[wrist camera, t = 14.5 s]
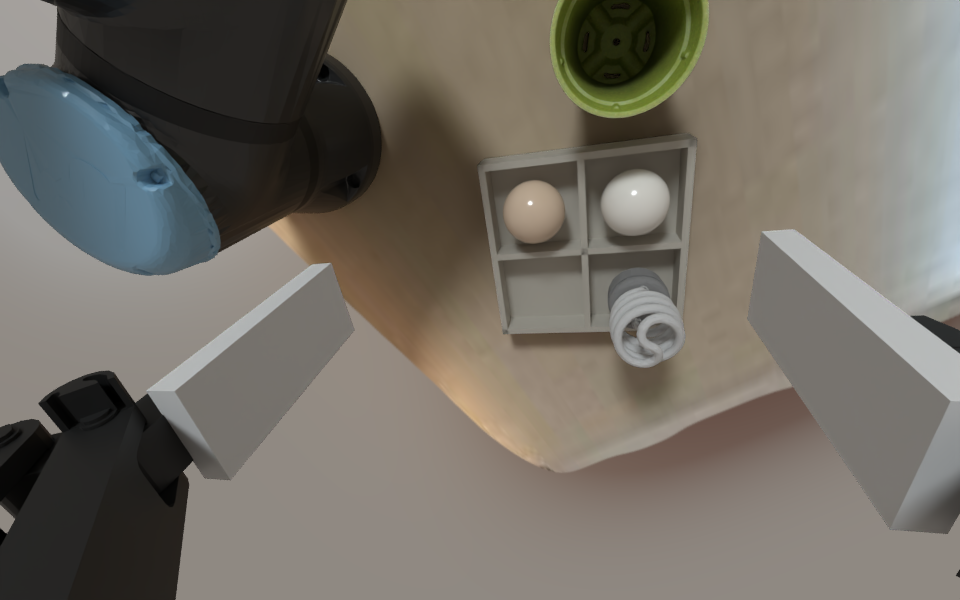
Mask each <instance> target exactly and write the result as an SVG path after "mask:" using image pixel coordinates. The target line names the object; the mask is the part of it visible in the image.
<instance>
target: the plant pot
mask: <svg viewBox="0 0 960 600" xmlns="http://www.w3.org/2000/svg"><path fill="white" fill-rule="evenodd" d="M621 3H627V4H629V5H630V8H629V9H621V8H620V9H612V8H611V7H612V5H614V4H621ZM708 23H709V4H708V0H558V3H557V5H556V8H555V11H554V15H553V18H552V23H551V30H550V55H551V61H552V66H553V69H554V73H555V75H556V78H557V80H558V82H559V84H560V86H561V88H562V89H563V91H564V92H565V94H566V95H567V96H568V97H569V98H570V100H571V101H572V102H574V103H575V104H576V105H577V106H578V107H580V108H581V109H583V110H585V111H587V112H588V113H591V114H593V115H596V116H601V117H606V118H625V117H631V116H635V115H638V114H641V113H643V112H646V111H648V110H650V109H652V108H654V107H656V106H657V105H659V104H661V103H662V102H663V101H665V100H666V99H667V98H668V97H670V96H671V95H672V94H673V93H674V92H675V91H676V90H677V89H678V88H679V87H680V86H681V85H682V84H683V83H684V82H685V80H686V79H687V78H688V76H689V75H690V73H691V72H692V70H693V68H694V67H695V65H696V63H697V61H698V59H699V57H700V54H701V52H702V49H703V47H704V43H705V40H706V36H707V30H708ZM647 31H648V33H649V34H650V43H649V47H648V49H647V51H646V52H643V48H644V44H645V39H646V32H647ZM587 32H589V38H588V43H587V48H588V49H587V52H584V50H583V41H584V36H585V34H586V33H587ZM614 39H619V40H620V43H619V44H618V45H614V44H613V41H614ZM604 73H608V74H617V73H620V74H621V75H620V76H619V77H618V78H605V77H604Z"/></svg>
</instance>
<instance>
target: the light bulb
mask: <svg viewBox="0 0 960 600" xmlns="http://www.w3.org/2000/svg"><path fill="white" fill-rule="evenodd" d="M608 308H609V311H610V319H609V327H610V334H611V339H612V342H613V344H614V348H615V350H616V352H617V354H618V355H619V356H620V357H621V359H623V360H624V361H625V362H626V363H628V364H630V365H632V366H635V367H639V368H648V367H652V366H654V365H657V364H659V362H662V361H665V360H667V359H670V358H672V357H673V356H675V355H676V354H677V353H678V352H679V351H680V350H681V348H682V347H683V345H684V343H685V330H684V324H683V321H682V319H681V316H680V313H679V311H678V309H677V307H676V306H675V305H674V304H673V302H672V300H671V299H670V295H669V292H668V289H667V287H666V285H665V284H664V283H663V281H662V280H661V278H660V277H659V276H658V275H657V274H656V273H655V272H653V271H651V270H648V269H645V268H631V269H628V270H625V271H622V272H621V273H620V274H618V275H617V276H616V277H615V278H614V279H613V280H612V282H611V284H610V286H609V289H608ZM658 323H661V324H660V325H659V326H657V327H655V328H652V329H649V328H650V327H652V326H654V325H656V324H658ZM626 327H627V328H631V329H636V330H637V334H636V335H637V338H636V337H633V336H631V335H629V334H628V333H626V332H625V331H624V329H625V328H626ZM657 336H658V337H657ZM646 337H648V338H649V339H647V338H646ZM650 337H655V338H650Z"/></svg>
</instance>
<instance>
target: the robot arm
mask: <svg viewBox="0 0 960 600" xmlns="http://www.w3.org/2000/svg"><path fill="white" fill-rule="evenodd" d="M42 1H45V2H47V3H50V4H53V5H55V6H57V33H56V54H55V62H54V64H53V65H52V66H51V67H48V66H47V65H44V64H23V65H21V66H19V67H17V69H16V70H11V71H9V72H7V73H6V75H3V76H0V162H1V164H2V166H3V168H4V170H5V171H6V173H7V174H8V176H9V178H10V179H11V181H12V182H13V183H14V185H15V186H16V188H17V189H18V190H19V191H20V193H21V194H22V195H23V196H24V197H25V198H26V199H27V201H28V202H29V203H30V204H31V206H32V207H33V208H34V209H35V210H36V211H37V213H38V214H40V216H41V217H42V218H43V219H44V220H45V221H46V222H47V223H48V224H49V225H50V226H52V227H53V228H54V229H55V230H56V231H57V232H58V233H59V234H61V235H62V236H63V237H64V238H66V239H67V240H68V241H69V242H71V243H72V244H73V245H75V246H76V247H78V248H79V249H81V250H82V251H84V252H85V253H87V254H89V255H90V256H92V257H94V258H96V259H98V260H99V261H101V262H103V263H105V264H107V265H109V266H112V267H114V268H117V269H120V270H123V271H126V272H130V273H134V274H139V275H147V276H151V275H167V274H171V273H175V272H178V271H180V270H183V269H185V268H188V267H191V266H193V265H196V264H199V263H202V262H207V261H209V260H210V259H212V258H214V257H215V256H216V255H217V254H218V252H221V251H222V250H224V249H226V248H228V247H230V246H232V245H233V244H235V243H237V242H239V241H241V240H243V239H245V238H247V237H248V236H250V235H252V234H254V233H256V232H258V231H260V230H261V229H263V228H265V227H267V226H269V225H271V224H273V223H274V222H276V221H278V220H280V219H282V218H284V217H286V216H287V215H289V214H291V213H325V212H330V211H334V210H337V209H339V208H342V207H344V206H346V205H347V204H349V203H351V202H352V201H354V200H355V199H357V198H358V197H359V196H361V195H362V194H363V193H364V192H365V191H366V190H367V188H368V187H369V186H370V184H371V183H372V181H373V179H374V177H375V175H376V173H377V170H378V166H379V162H380V157H381V133H380V127H379V122H378V119H377V115H376V112H375V110H374V107H373V105H372V102H371V100H370V98H369V96H368V95H367V93H366V91H365V90H364V88H363V87H362V85H361V84H360V82H359V81H358V80H357V78H356V77H355V76H354V75H353V74H352V73H351V72H350V71H349V70H348V69H347V68H346V67H345V66H344V65H343V64H342V63H341V62H339V61H338V60H337V59H335V58H334V57H332V56H331V55H329V54H327V52H328V49H329V46H330V44H331V41H332V39H333V36H334V33H335V31H336V28H337V26H338V23H339V20H340V18H341V15H342V13H343V10H344V7H345V5H346V2H347V0H42ZM747 319H748V321H749V322H750V324H751V325H752V327H753V328H754V330H755V331H756V333H757V334H758V336H759V337H760V339H761V340H762V342H763V343H764V344H765V346H766V347H767V349H768V350H769V352H770V353H771V355H772V356H773V358H774V359H775V361H776V362H777V364H778V365H779V367H780V368H781V370H782V371H783V373H784V374H785V375H786V377H787V378H788V380H789V381H790V383H791V384H792V386H793V387H794V389H795V390H796V392H797V393H798V395H799V396H800V398H801V399H802V401H803V402H804V403H805V405H806V406H807V408H808V409H809V411H810V412H811V414H812V415H813V417H814V418H815V420H816V421H817V423H818V424H819V425H820V427H821V429H822V430H823V432H824V433H825V435H826V436H827V437H828V439H829V440H830V442H831V443H832V445H833V446H834V448H835V449H836V451H837V452H838V454H839V455H840V457H841V458H842V460H843V461H844V463H845V464H846V465H847V467H848V468H849V470H850V471H851V473H852V474H853V476H854V477H855V478H856V480H857V482H858V483H859V485H860V486H861V488H862V489H863V491H864V492H865V493H866V495H867V496H868V498H869V499H870V501H871V502H872V504H873V505H874V507H875V508H876V510H877V511H878V512H879V514H880V516H881V517H882V518H883V520H884V522H885V523H886V525H887V526H888V527H889V529H890V530H904V531H916V532H930V533H943V534H948V532H949V531H950V529H951V527H952V526H953V524H954V522H955V520H956V519H957V517H958V515H959V514H960V331H959V330H958V329H955V328H953V327H950V326H948V325H946V324H943V323H941V322H938V321H936V320H934V319H931V318H929V317H926V316H909V315H908V314H906V313H905V312H904V311H902V310H901V309H900V308H898V307H897V306H896V305H894V304H893V303H892V302H890V301H889V300H888V299H886V298H885V297H884V296H882V295H881V294H880V293H878V292H877V291H876V290H874V289H873V288H872V287H870V286H869V285H868V284H866V283H865V282H864V281H862V280H861V279H860V278H858V277H857V276H856V275H854V274H853V273H852V272H850V271H849V270H848V269H846V268H845V267H844V266H842V265H841V264H840V263H838V262H837V261H836V260H835V259H833V258H832V257H831V256H829V255H828V254H827V253H825V252H824V251H823V250H821V249H820V248H819V247H817V246H816V245H815V244H813V243H812V242H811V241H809V240H808V239H807V238H805V237H804V236H803V235H801V234H800V233H799V232H797V231H796V230H795V229H790V230H776V231H763V232H761V238H760V244H759V250H758V256H757V262H756V268H755V274H754V281H753V287H752V293H751V299H750V305H749V311H748V317H747ZM353 331H354V327H353V324H352V322H351V319H350V316H349V313H348V310H347V307H346V304H345V301H344V298H343V295H342V292H341V290H340V287H339V284H338V281H337V278H336V275H335V272H334V269H333V266H332V263H323V264H312V265H310V266H309V267H308V268H307V269H305V270H304V271H303V272H301V273H300V274H299V275H297V276H296V277H295V278H293V279H292V280H291V281H289V282H288V283H287V284H285V285H284V286H283V287H282V288H280V289H279V290H278V291H276V292H275V293H274V294H272V295H271V296H270V297H269V298H267V299H266V300H265V301H263V302H262V303H261V304H259V305H258V306H257V307H256V308H254V309H253V310H252V311H250V312H249V313H248V314H246V315H245V316H244V317H242V318H241V319H240V320H238V321H237V322H236V323H235V324H233V325H232V326H230V327H229V328H228V329H227V330H225V331H224V332H223V333H221V334H220V335H219V336H218V337H216V338H215V339H213V340H212V341H211V342H210V343H208V344H207V345H206V346H204V347H203V348H202V349H200V350H199V351H198V352H197V353H195V354H194V355H193V356H191V357H190V358H189V359H187V360H186V361H185V362H183V363H182V364H181V365H180V366H178V367H177V368H176V369H174V370H173V371H172V372H170V373H169V374H168V375H166V376H165V377H164V378H162V379H161V380H160V381H158V382H157V383H156V384H155V385H153V386H152V387H151V388H149V389H148V390H147V393H148V394H146V395H145V396H144V397H143V398H141V399H140V400H139V401H137V402H136V403H135V402H134V401H133V399H132V398H131V396H130V395H129V394H128V392H127V391H126V389H125V388H124V386H123V385H122V383H121V382H120V381H119V379H118V378H117V376H116V375H115V374H114V372H111V371H99V372H95V373H91V374H88V375H85V376H82V377H80V378H77V379H75V380H72V381H70V382H68V383H66V384H65V385H63V386H60V387H59V388H57V389H56V390H54V391H52V392H51V393H49V394H48V395H47V396H45V397H44V398H43V399H42V400H41V401H40V402H39V405H40V406H41V407H42V409H43V410H44V411H45V412H46V413H47V415H48V416H49V417H50V418H51V419H52V420H53V422H54V423H55V424H56V425H57V427H59V429H60V430H61V431H62V433H57V434H53V435H51V434H50V433H49V432H48V431H47V430H46V428H45V427H44V426H43V425H42V424H41V423H40V421H39V420H34V419H30V420H24V421H20V422H17V423H14V424H11V425H10V424H8V425H5V426H2V427H0V505H1V506H2V507H3V508H4V509H6V510H7V511H8V512H9V513H10V514H11V515H12V516H13V517H14V518H15V521H14V523H13V524H12V526H11V528H10V530H9V532H8V534H7V533H5V532H4V531H3V530H2V529H0V600H175V599H176V591H177V582H178V574H179V565H180V557H181V548H182V540H183V532H184V531H183V530H184V523H185V514H186V505H187V498H188V489H189V482H188V478H187V477H186V475H185V474H184V472H183V471H184V470H185V469H186V468H187V467H188V465H190V463H191V462H192V461H193V462H194V463H195V465H196V466H197V468H198V469H199V470H200V472H201V474H202V475H203V477H204V478H207V479H220V480H231V479H232V478H233V477H234V475H235V474H236V473H237V472H238V471H239V469H240V468H241V467H242V466H243V465H244V463H245V462H246V461H247V460H248V458H249V457H250V456H251V455H252V454H253V452H254V451H255V450H256V449H257V448H258V446H259V445H260V444H261V443H262V442H263V440H264V439H265V438H266V437H267V435H268V434H269V433H270V432H271V430H272V429H273V428H274V427H275V426H276V424H277V423H278V422H279V421H280V420H281V419H282V417H283V416H284V415H285V414H286V412H287V411H288V410H289V409H290V407H291V406H292V405H293V404H294V403H295V402H296V400H297V399H298V397H300V395H301V394H302V393H303V392H304V390H305V389H306V388H307V387H308V386H309V384H310V383H311V382H312V381H313V379H315V377H316V376H317V375H318V374H319V372H320V371H321V370H322V369H323V368H324V366H325V365H326V364H327V363H328V362H329V360H330V359H331V358H332V357H333V355H334V354H335V353H336V352H337V351H338V349H339V348H340V347H341V346H342V344H343V343H344V342H345V341H346V340H347V339H348V337H349V336H350V335H351V334H352V333H353ZM956 576H958V577H960V570H959V572H958V573H957V575H956Z"/></svg>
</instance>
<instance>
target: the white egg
mask: <svg viewBox="0 0 960 600" xmlns="http://www.w3.org/2000/svg"><path fill="white" fill-rule="evenodd" d="M600 207H601V213H602V216H603V218H604V220H605V222H606V223H607V225H608V226H609V227H610V228H611V229H613V230H614V231H615V232H617V233H620V234H622V235H626V236H639V235H643V234H646V233H649V232H651V231H652V230H654V229H655V228H657V227H658V226H659V225H660V224H661V223H662V222H663V220H664V219H665V217H666V216H667V213H668V211H669V208H670V192H669V189H668V186H667V185H666V183H665V181H664V180H663V179H662V178H661V177H660V176H659V175H657V174H656V173H654V172H652V171H649V170H646V169H630V170H627V171H624V172H622V173H620V174H618V175H617V176H615V177H614V178H613V179H612V180H611V181H610V182H609V183H608V184H607V186H606V187H605V189H604V191H603V193H602V197H601V205H600Z"/></svg>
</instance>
